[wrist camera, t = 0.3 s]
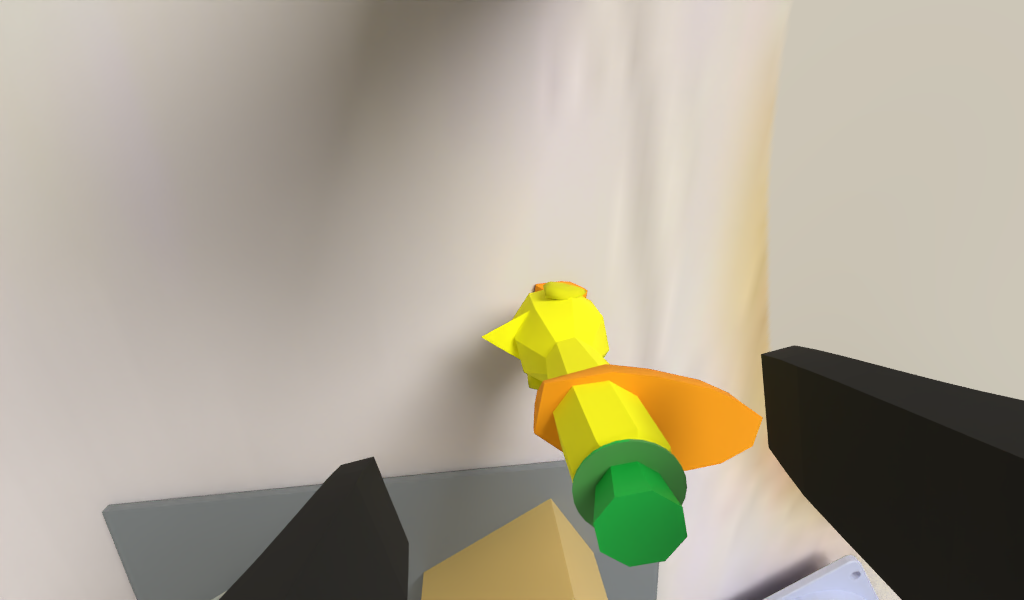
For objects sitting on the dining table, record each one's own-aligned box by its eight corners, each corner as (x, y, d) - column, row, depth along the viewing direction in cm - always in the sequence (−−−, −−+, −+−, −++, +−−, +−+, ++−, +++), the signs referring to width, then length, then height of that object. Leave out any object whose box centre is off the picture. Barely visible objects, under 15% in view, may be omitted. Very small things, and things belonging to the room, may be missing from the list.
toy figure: (651, 272, 19) (910, 465, 8) (630, 353, 21) (834, 623, 9) (483, 250, 19) (513, 432, 7) (471, 336, 20) (481, 612, 8)
